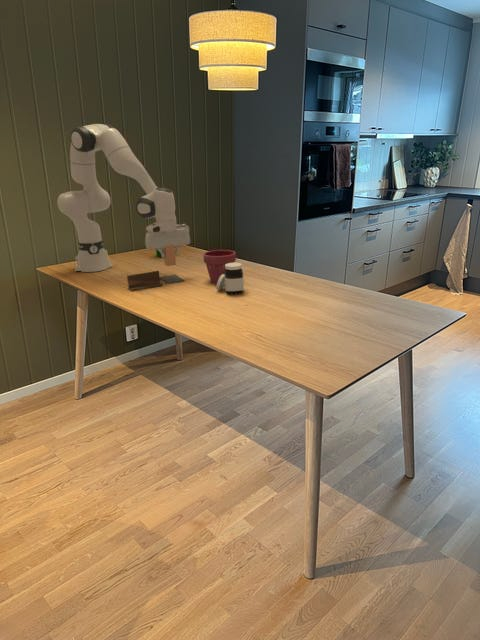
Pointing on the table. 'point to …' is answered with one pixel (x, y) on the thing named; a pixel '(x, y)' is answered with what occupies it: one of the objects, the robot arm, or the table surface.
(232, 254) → the plant pot
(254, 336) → the table surface
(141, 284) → the brown wooden stand
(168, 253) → the terracotta block
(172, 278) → the charcoal mat
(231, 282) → the spread jar
